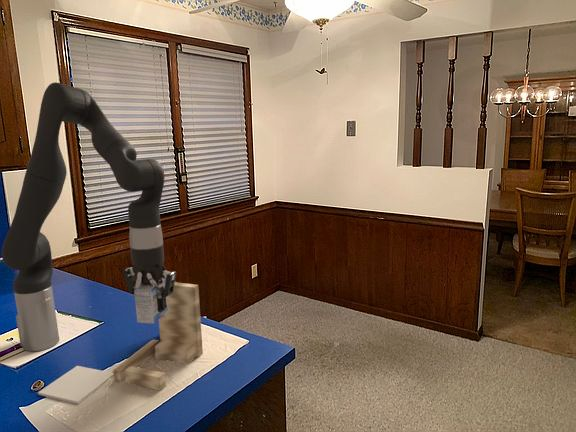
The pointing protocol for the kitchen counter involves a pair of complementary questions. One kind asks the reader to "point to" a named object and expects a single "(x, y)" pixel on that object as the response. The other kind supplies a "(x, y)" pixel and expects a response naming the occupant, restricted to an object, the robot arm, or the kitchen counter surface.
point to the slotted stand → (168, 339)
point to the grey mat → (76, 384)
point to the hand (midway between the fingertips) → (152, 309)
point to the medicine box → (147, 304)
